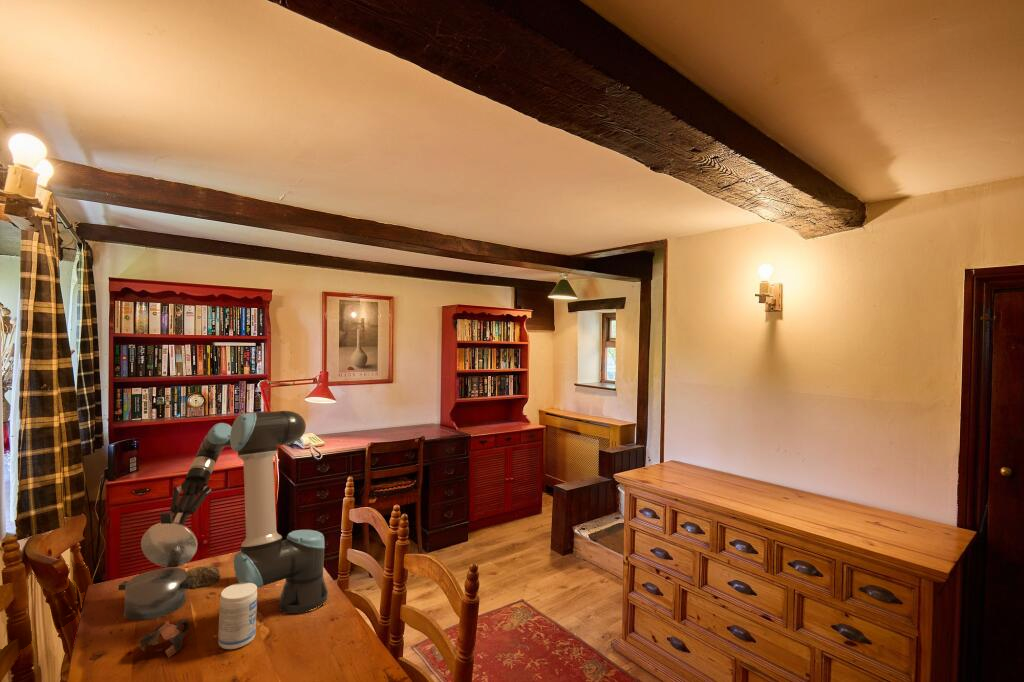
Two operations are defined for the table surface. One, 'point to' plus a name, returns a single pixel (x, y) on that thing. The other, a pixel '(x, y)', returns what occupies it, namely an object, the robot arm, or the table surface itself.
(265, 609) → the table surface
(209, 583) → the speckled stone
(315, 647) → the table surface
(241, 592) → the supplement tub
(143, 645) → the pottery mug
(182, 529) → the lid
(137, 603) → the cooker pot
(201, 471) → the robot arm
